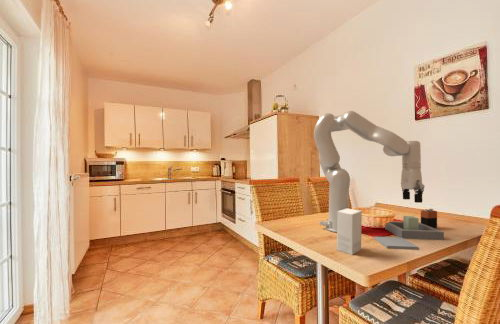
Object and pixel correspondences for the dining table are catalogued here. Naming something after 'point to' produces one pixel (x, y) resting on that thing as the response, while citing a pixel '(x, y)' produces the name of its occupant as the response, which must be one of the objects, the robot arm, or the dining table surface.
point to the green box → (410, 223)
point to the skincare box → (349, 230)
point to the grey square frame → (414, 231)
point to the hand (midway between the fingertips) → (412, 200)
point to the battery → (429, 218)
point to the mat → (396, 243)
